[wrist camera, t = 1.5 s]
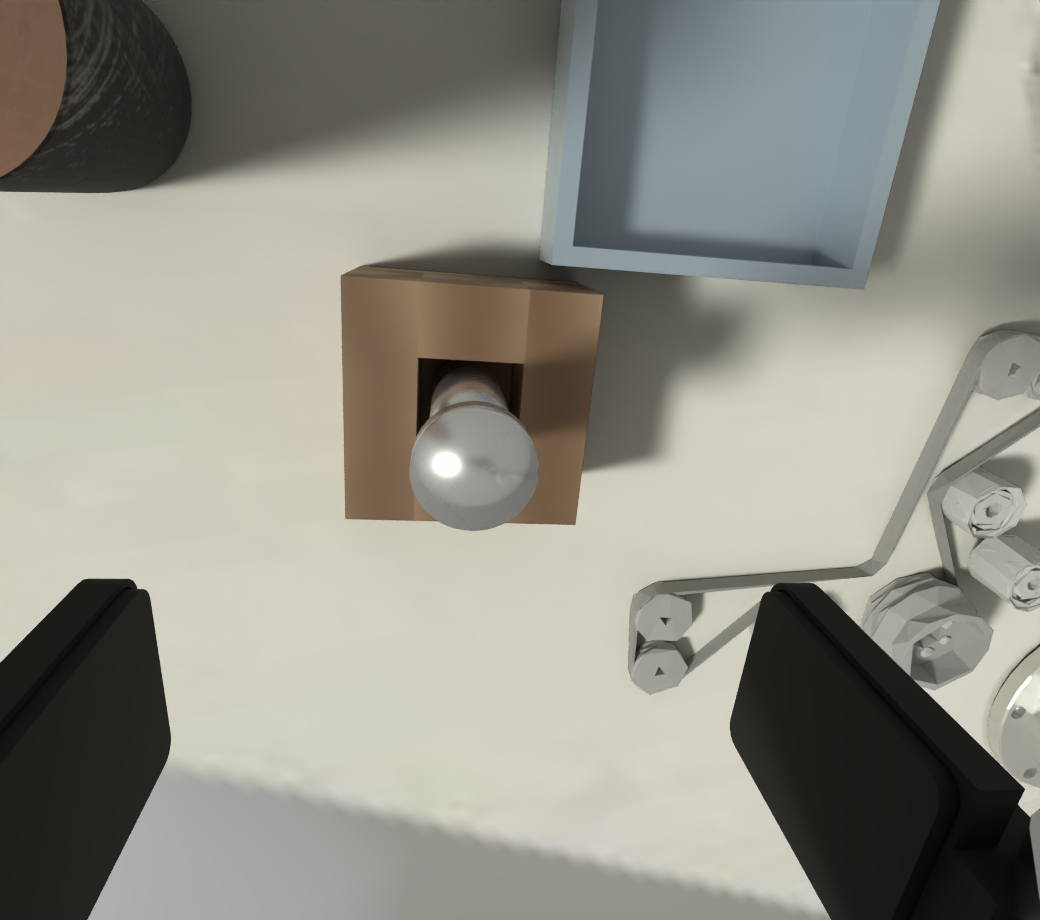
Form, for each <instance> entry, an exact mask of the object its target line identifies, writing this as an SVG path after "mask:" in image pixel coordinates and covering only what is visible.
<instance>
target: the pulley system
mask: <svg viewBox="0 0 1040 920" xmlns="http://www.w3.org/2000/svg"><path fill="white" fill-rule="evenodd" d="M1037 340H1040V335H1037V334H1031V333H1025V332H1019V331H1015V330H999V331H996V332H993V333H991V334H988V335H985V336H982V337H980V338H979V340H978V341H977V343H976V344H975V345H974V347H973V348H972V349H971V351H970V352H969V354H968V356H967V358H966V360H965V362H964V364H963V366H962V368H961V370H960V372H959V374H958V377H957V379H956V381H955V383H954V385H953V387H952V389H951V391H950V394H949V396H948V398H947V400H946V402H945V404H944V406H943V408H942V410H941V413H940V415H939V417H938V419H937V421H936V423H935V425H934V427H933V430H932V432H931V434H930V436H929V438H928V440H927V442H926V444H925V447H924V449H923V451H922V453H921V455H920V457H919V459H918V461H917V463H916V466H915V468H914V470H913V472H912V474H911V476H910V478H909V480H908V483H907V485H906V487H905V489H904V491H903V493H902V495H901V497H900V500H899V502H898V504H897V506H896V508H895V510H894V512H893V514H892V516H891V519H890V521H889V523H888V525H887V527H886V529H885V531H884V533H883V536H882V538H881V540H880V542H879V544H878V546H877V548H876V550H875V553H874V555H873V557H872V559H870V560H868V561H867V562H865V563H863V564H861V565H859V566H857V567H849V568H837V569H824V570H812V571H799V572H787V573H774V574H762V575H749V576H736V577H724V578H711V579H699V580H686V581H674V582H662V581H658V582H656V583H654V584H652V585H650V586H648V587H647V588H645V589H643V590H641V591H639V592H638V593H637V594H635V595H633V599H632V603H631V607H630V622H629V651H628V670H629V674H630V677H631V680H632V682H633V683H634V684H635V685H636V686H637V687H638V688H640V689H642V690H643V691H645V692H646V693H648V694H649V695H651V694H654V693H657V692H660V691H663V690H667V689H670V688H673V687H676V686H678V685H679V683H680V681H681V680H682V678H684V677H685V676H686V675H687V674H689V673H690V672H691V671H692V670H694V669H695V668H696V667H698V666H699V665H700V664H701V663H703V662H704V661H705V660H706V659H708V658H709V657H710V656H712V655H713V654H714V653H715V652H717V651H718V650H719V649H720V648H722V647H723V646H724V645H726V644H727V643H728V642H729V641H731V640H732V639H733V638H734V637H736V636H737V635H738V634H740V633H741V632H742V631H743V630H745V629H746V628H747V627H748V626H749V632H750V634H751V635H752V633H753V629H754V625H755V622H756V618H757V614H758V610H759V606H760V602H761V601H760V602H758V603H757V604H756V605H755V606H754V607H752V608H751V609H750V610H749V611H747V612H746V613H745V614H744V615H742V616H741V617H740V618H739V619H737V620H736V621H735V622H734V623H732V624H731V625H730V626H729V627H728V628H726V629H725V630H724V631H723V632H721V633H720V634H719V635H718V636H716V637H715V638H714V639H713V640H711V641H710V642H709V643H708V644H707V645H705V646H704V647H703V648H702V649H700V650H699V651H698V652H697V653H695V654H694V655H693V656H692V657H690V658H689V659H688V660H687V661H686V662H685V661H684V659H683V657H682V655H681V653H680V652H679V651H678V650H677V649H676V647H675V645H674V644H672V643H667V642H665V641H663V640H666V641H678V640H679V639H680V638H681V636H682V635H683V634H684V633H685V632H686V631H687V630H688V629H689V627H690V626H691V625H692V604H691V602H689V601H688V600H686V598H685V597H684V595H685V594H695V593H705V592H715V591H725V590H735V589H745V588H756V587H766V586H774V585H775V584H777V583H806V582H816V581H826V580H837V579H847V578H857V577H867V576H873V575H874V574H875V573H877V572H878V571H879V570H880V569H881V568H882V567H883V566H885V565H886V564H887V562H888V560H889V558H890V556H891V554H892V552H893V550H894V548H895V546H896V544H897V542H898V540H899V538H900V535H901V533H902V531H903V529H904V527H905V525H906V523H907V521H908V519H909V517H910V515H911V513H912V511H913V509H914V507H915V505H916V503H917V501H918V499H919V497H920V495H921V493H922V491H923V489H924V487H925V485H926V483H927V481H928V479H929V476H930V474H931V472H932V470H933V468H934V466H935V464H936V462H937V460H938V458H939V456H940V454H941V452H942V450H943V448H944V446H945V444H946V442H947V440H948V438H949V436H950V434H951V432H952V430H953V428H954V426H955V424H956V422H957V420H958V418H959V415H960V413H961V411H962V409H963V407H964V405H965V403H966V401H967V399H968V397H969V395H970V393H971V391H974V392H977V393H979V394H984V395H987V396H989V397H991V398H994V399H996V400H1000V399H1004V398H1007V397H1011V396H1015V395H1018V394H1022V393H1024V391H1025V390H1026V392H1027V396H1028V397H1029V398H1033V399H1038V400H1040V342H1039V341H1037ZM1038 427H1040V410H1039V411H1037V412H1036V413H1034V414H1033V415H1031V416H1030V417H1028V418H1026V419H1025V420H1023V421H1022V422H1020V423H1019V424H1017V425H1016V426H1014V427H1012V428H1011V429H1009V430H1008V431H1006V432H1005V433H1003V434H1001V435H1000V436H998V437H997V438H995V439H994V440H992V441H991V442H989V443H987V444H986V445H984V446H983V447H981V448H980V449H978V450H976V451H975V452H973V453H972V454H970V455H969V456H967V457H966V458H964V459H962V460H961V461H959V462H958V463H956V464H955V465H953V466H951V467H950V468H948V469H947V470H945V471H944V472H942V473H941V474H940V475H939V476H937V477H936V478H935V480H934V483H933V485H932V487H931V488H930V490H929V491H928V493H927V496H928V501H929V506H930V511H931V515H932V520H933V525H934V530H935V535H936V539H937V544H938V549H939V553H940V556H941V560H942V564H943V568H944V571H945V575H946V579H947V582H946V581H941V580H938V579H936V578H935V577H933V576H932V575H930V574H929V573H923V574H918V575H913V576H909V577H904V578H899V579H896V580H895V581H893V582H892V583H890V584H889V585H887V586H886V587H884V588H883V589H881V590H880V591H878V592H877V593H875V594H874V595H872V596H871V597H870V598H869V600H868V602H867V605H866V608H865V611H864V614H863V618H862V621H861V624H860V628H861V629H862V630H863V631H864V632H865V633H866V634H867V635H868V636H869V637H870V638H871V639H872V640H873V641H875V642H876V643H877V644H878V645H879V646H880V647H881V648H882V649H883V650H884V651H885V652H886V653H887V654H888V655H889V656H890V657H891V658H892V659H893V660H894V661H895V662H896V663H897V664H898V665H899V666H900V667H901V668H902V669H903V670H904V671H905V672H906V673H907V674H908V675H909V676H910V677H911V678H912V679H913V680H914V681H915V682H916V683H917V684H918V685H919V686H922V687H925V688H928V689H931V690H936V689H938V688H940V687H942V686H944V685H946V684H948V683H950V682H952V681H954V680H956V679H958V678H961V677H963V676H965V675H967V674H969V673H971V672H972V671H973V670H974V669H975V667H976V666H977V665H978V663H979V662H980V661H981V659H982V658H983V657H984V655H985V654H986V652H987V651H988V649H989V646H990V642H991V638H992V635H993V631H994V630H993V629H992V628H991V627H990V626H989V625H988V624H987V623H986V622H985V621H984V619H983V618H982V617H980V616H978V615H977V610H976V609H975V608H974V606H973V605H972V604H971V603H970V601H969V600H968V599H967V597H966V596H965V595H964V594H963V592H962V591H961V590H960V589H958V586H957V581H956V576H955V572H954V567H953V562H952V557H951V552H950V547H949V543H948V538H947V533H946V528H945V523H944V518H943V516H945V517H946V518H948V519H949V520H950V521H952V522H953V523H955V524H956V525H957V526H959V527H960V528H961V529H963V530H964V531H966V532H967V533H968V534H970V535H971V536H973V537H975V538H986V539H984V540H983V541H982V542H981V543H980V544H979V545H978V546H977V547H976V548H975V549H974V550H973V551H972V553H971V556H970V559H969V562H968V565H967V566H968V569H969V571H970V573H971V576H973V577H974V578H975V579H977V580H978V581H979V582H981V583H982V584H983V585H985V586H986V587H988V588H989V589H990V590H992V591H993V592H994V593H996V594H997V595H998V596H1000V597H1001V598H1002V599H1004V600H1005V601H1006V602H1008V603H1009V604H1010V605H1012V606H1013V607H1014V608H1016V609H1018V610H1023V611H1027V612H1030V611H1033V610H1035V609H1037V608H1039V607H1040V550H1038V549H1037V548H1035V547H1034V546H1032V545H1030V544H1029V543H1027V542H1026V541H1024V540H1023V539H1021V538H1020V537H1018V536H1016V535H1002V534H1003V533H1004V532H1006V531H1008V530H1009V529H1011V528H1013V527H1015V526H1016V525H1017V523H1018V521H1019V519H1020V517H1021V515H1022V513H1023V511H1024V509H1025V507H1026V505H1027V503H1026V501H1025V498H1024V495H1023V493H1022V490H1021V488H1019V487H1017V486H1016V485H1014V484H1012V483H1010V482H1008V481H1006V480H1004V479H1002V478H1000V477H998V476H996V475H994V474H993V473H991V472H989V471H987V470H985V469H983V468H981V467H979V466H980V465H982V464H983V463H985V462H987V461H988V460H990V459H991V458H993V457H994V456H996V455H997V454H999V453H1000V452H1002V451H1003V450H1005V449H1006V448H1008V447H1009V446H1011V445H1012V444H1014V443H1016V442H1017V441H1019V440H1020V439H1022V438H1023V437H1025V436H1026V435H1028V434H1029V433H1031V432H1032V431H1034V430H1035V429H1037V428H1038ZM638 631H639V632H640V633H641V634H642V635H643V636H644V638H645V639H646V640H651V641H648V642H646V643H643V644H641V645H640V646H639V648H638V650H637V651H636V642H637V632H638ZM635 651H636V653H635Z"/></svg>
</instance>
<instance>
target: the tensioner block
mask: <svg viewBox="0 0 1040 920" xmlns="http://www.w3.org/2000/svg"><path fill="white" fill-rule="evenodd" d="M603 296H604V295H602V294H600V293H598V292H596V291H594V290H592V289H590V288H588V287H586V286H584V285H582V284H579V283H577V282H567V281H554V280H541V279H527V278H514V277H501V276H488V275H474V274H461V273H448V272H435V271H421V270H408V269H395V268H382V267H368V266H360V267H358V268H356V269H354V270H351V271H349V272H347V273H345V274H343V275H341V312H342V365H343V418H344V470H345V519H369V520H407V521H437V520H436V519H434V518H433V517H432V516H431V515H429V514H428V513H427V512H426V511H425V510H424V509H423V508H422V506H421V505H420V503H419V502H418V501H417V499H416V497H415V495H414V492H413V489H412V487H411V482H410V472H409V470H410V460H411V454H412V449H413V445H414V441H415V439H416V436H417V434H418V432H419V431H420V429H421V428H422V426H423V425H424V424H425V422H426V421H427V420H428V419H429V418H430V410H431V400H432V391H433V381H434V376H435V373H436V371H437V369H438V367H439V366H440V365H441V363H442V362H443V361H445V360H446V359H450V360H468V361H485V362H490V363H491V365H492V366H493V367H494V369H495V371H496V373H497V375H498V379H499V382H500V385H501V388H502V392H503V395H504V398H505V401H506V405H507V408H508V411H509V412H511V413H512V414H514V415H515V416H516V417H517V418H518V419H519V420H520V421H521V422H522V424H523V425H524V426H525V428H526V429H527V431H528V433H529V435H530V437H531V440H532V442H533V445H534V448H535V450H536V453H537V457H538V463H539V477H538V483H537V486H536V489H535V492H534V494H533V496H532V498H531V499H530V501H529V502H528V504H527V505H526V506H525V508H524V509H523V510H522V511H521V512H520V513H519V514H518V515H517V516H515V517H514V518H512V519H511V520H509V521H508V522H506V523H524V524H562V525H575V523H576V515H577V507H578V499H579V491H580V483H581V474H582V466H583V458H584V450H585V442H586V434H587V426H588V418H589V410H590V402H591V393H592V385H593V377H594V369H595V361H596V353H597V345H598V337H599V329H600V321H601V312H602V304H603Z"/></svg>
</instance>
